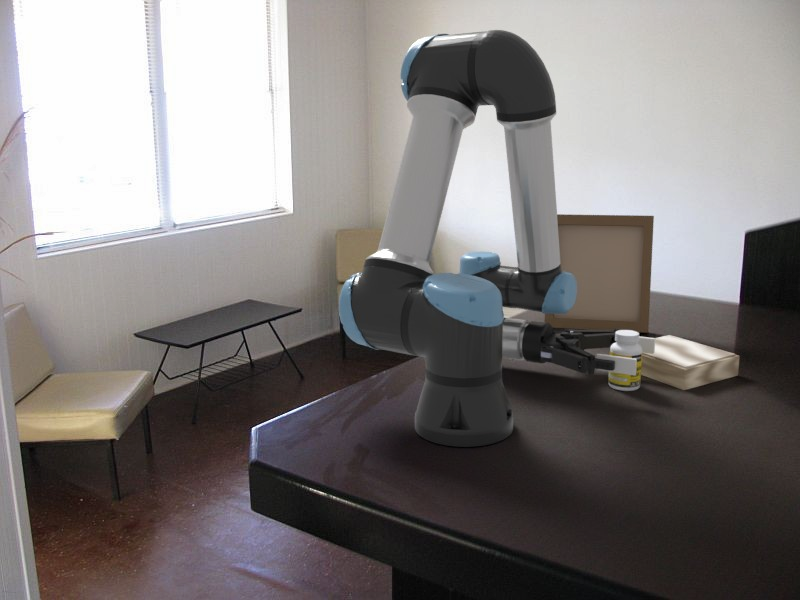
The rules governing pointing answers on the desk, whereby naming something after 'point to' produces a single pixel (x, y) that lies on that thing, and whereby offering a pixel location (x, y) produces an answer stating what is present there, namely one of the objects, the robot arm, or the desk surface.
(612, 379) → the supplement bottle
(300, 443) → the desk surface
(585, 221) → the photo frame
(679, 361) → the pedestal
